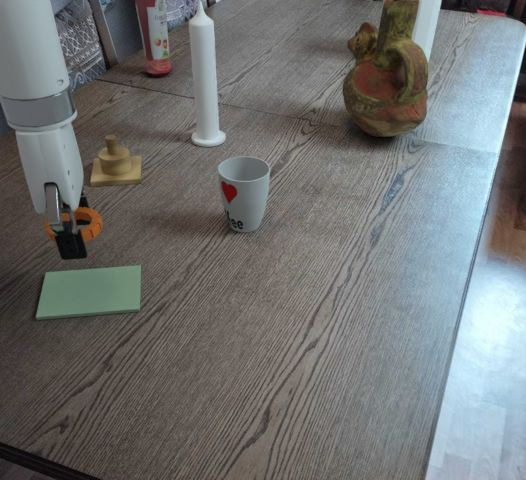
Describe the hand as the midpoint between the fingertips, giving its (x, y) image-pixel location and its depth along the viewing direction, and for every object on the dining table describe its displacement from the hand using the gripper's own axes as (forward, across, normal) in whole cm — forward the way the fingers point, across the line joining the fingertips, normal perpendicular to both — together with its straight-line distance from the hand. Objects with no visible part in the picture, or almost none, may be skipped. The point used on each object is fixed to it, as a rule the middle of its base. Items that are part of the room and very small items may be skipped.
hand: (77, 239), depth 73 cm
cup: (+10, -15, +24) cm, 30 cm away
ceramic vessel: (+10, -48, +56) cm, 74 cm away
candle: (+9, -47, +20) cm, 52 cm away
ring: (-2, 0, 0) cm, 2 cm away
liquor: (+9, -85, +10) cm, 86 cm away
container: (+10, -89, +75) cm, 117 cm away
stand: (+9, -35, +2) cm, 36 cm away
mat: (+9, 0, 0) cm, 9 cm away
